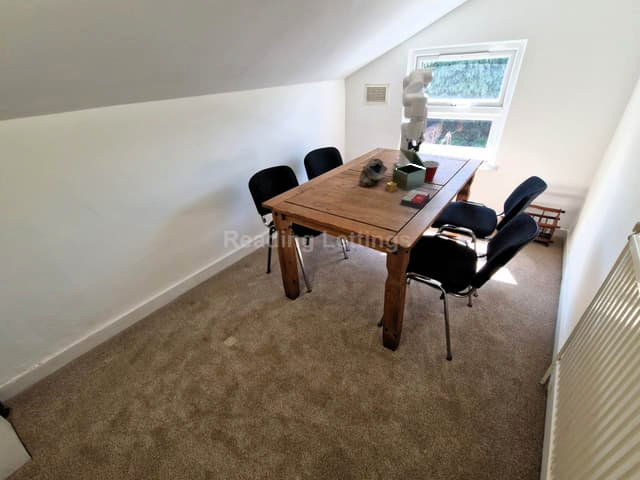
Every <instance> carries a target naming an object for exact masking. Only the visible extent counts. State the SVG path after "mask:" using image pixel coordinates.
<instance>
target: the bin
mask: <svg viewBox="0 0 640 480" xmlns="http://www.w3.org/2000/svg"><path fill="white" fill-rule="evenodd" d="M425 172H426V169H425V168H423V167H420V166H416V165H413V164H409V165H405V166H402V167H398V166H397V167H395V168H393V169H392V178H391V182H394V183H396V184H397V186H396V188H399V189H401V190H403V191H409V190H410V191H411V190H414V189H416V188H419V187H422V186H424V183H425V181H424V179H425Z"/></svg>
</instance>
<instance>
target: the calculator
mask: <svg viewBox="0 0 640 480" xmlns="http://www.w3.org/2000/svg"><path fill="white" fill-rule="evenodd" d="M430 197H431V193H430V192H427V191H421V190H415V189H410V191H409V192H408V193H407V194H406V195H405V196H404V197H403V198H402V199H401V200H400V205H401V206H405V207H411V208H414V209H419V210H421V208H422V207H423V206H424V205H425V204H426V203H427V202H428V201H429V200H430Z"/></svg>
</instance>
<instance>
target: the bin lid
mask: <svg viewBox="0 0 640 480" xmlns="http://www.w3.org/2000/svg"><path fill="white" fill-rule="evenodd" d="M410 148H413V150H412V151H410V150H409V149H410ZM400 150H401V151H402V153H403V154H404V155H405V157H406V158H407V159H408V161H409V162H410V163H411V164H413V165H416V166H419V167H422V168H427V167H426V166H425V164H424V163H423V162H424V161H423V160H422V159H421V157H420V155H419V154H418V153H417V152H415V144H414V145H409V148H408V149H403V148H400V147H399V151H400Z"/></svg>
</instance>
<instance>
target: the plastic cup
mask: <svg viewBox="0 0 640 480" xmlns="http://www.w3.org/2000/svg"><path fill="white" fill-rule="evenodd" d="M422 162H423V163H424V164H425V166H426V167H427V168H425V169H426V172H425V179H424V183H432V182H433V181H434V178H435V176H436V173H437V170H438V168H439V167H440V162H438V161H436V160H423V161H422Z"/></svg>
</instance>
